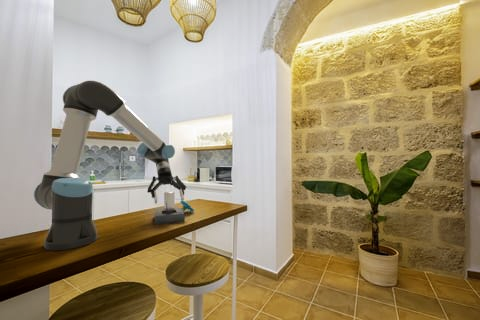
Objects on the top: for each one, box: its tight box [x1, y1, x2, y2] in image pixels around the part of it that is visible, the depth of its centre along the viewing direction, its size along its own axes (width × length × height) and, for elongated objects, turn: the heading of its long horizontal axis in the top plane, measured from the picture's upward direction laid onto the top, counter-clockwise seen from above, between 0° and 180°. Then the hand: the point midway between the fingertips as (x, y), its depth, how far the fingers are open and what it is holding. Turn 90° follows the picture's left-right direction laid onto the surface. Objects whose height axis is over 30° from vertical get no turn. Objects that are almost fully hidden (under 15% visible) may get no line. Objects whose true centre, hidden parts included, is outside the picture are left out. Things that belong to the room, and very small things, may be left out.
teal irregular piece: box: [180, 200, 195, 213], centre depth 121 cm, size 11×6×10 cm
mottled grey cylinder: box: [163, 191, 175, 214], centre depth 107 cm, size 5×5×14 cm
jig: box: [154, 207, 186, 225], centre depth 107 cm, size 14×14×4 cm
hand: (169, 201), depth 107 cm, fingers open, 13 cm apart
